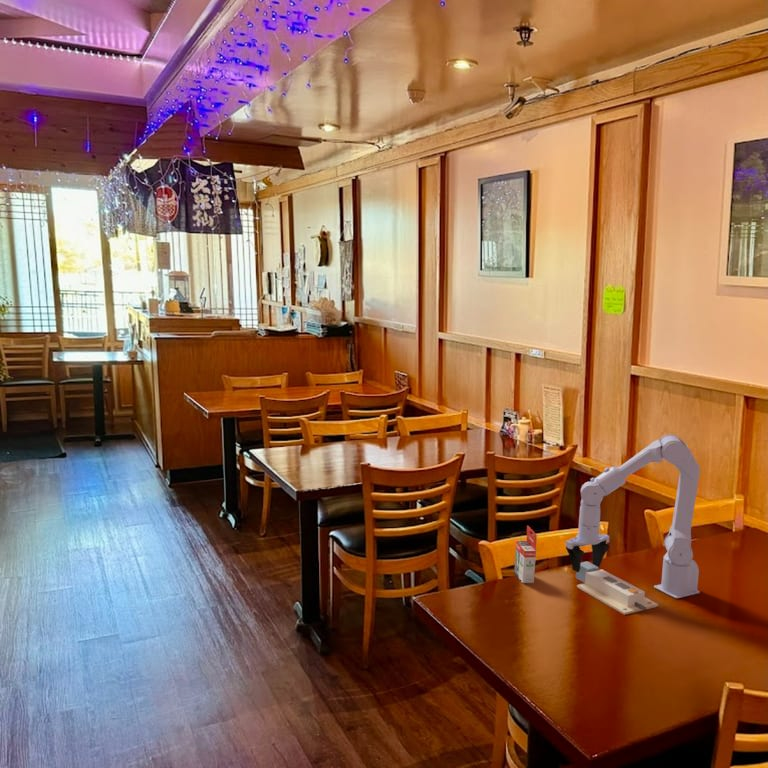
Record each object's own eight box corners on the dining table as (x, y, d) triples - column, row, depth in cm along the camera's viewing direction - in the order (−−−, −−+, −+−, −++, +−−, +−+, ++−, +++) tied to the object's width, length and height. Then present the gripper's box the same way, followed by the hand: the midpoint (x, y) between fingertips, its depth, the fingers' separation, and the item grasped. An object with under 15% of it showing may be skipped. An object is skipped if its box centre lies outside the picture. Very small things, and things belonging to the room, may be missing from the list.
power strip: (608, 580, 195) (609, 565, 195) (661, 608, 178) (662, 592, 178) (576, 587, 190) (577, 572, 189) (627, 616, 173) (628, 600, 172)
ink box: (522, 583, 191) (524, 534, 189) (513, 572, 199) (515, 525, 197) (534, 583, 192) (537, 534, 190) (525, 572, 200) (528, 524, 198)
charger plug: (586, 575, 198) (587, 561, 197) (604, 586, 191) (606, 571, 190) (575, 578, 196) (576, 563, 195) (594, 588, 189) (595, 573, 189)
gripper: (598, 516, 200) (595, 559, 202) (560, 522, 193) (557, 567, 195) (616, 523, 193) (612, 568, 195) (577, 530, 187) (573, 576, 189)
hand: (586, 568), depth 195 cm, fingers open, 7 cm apart
